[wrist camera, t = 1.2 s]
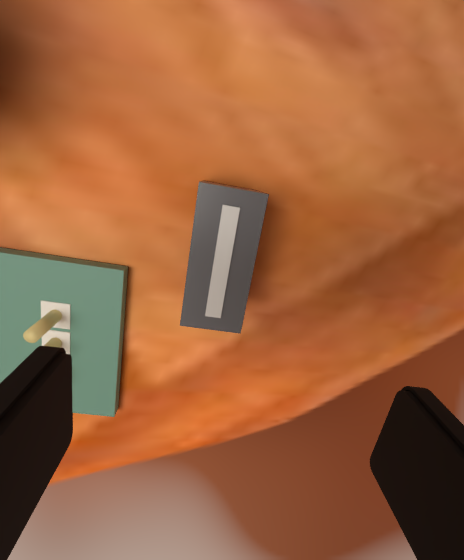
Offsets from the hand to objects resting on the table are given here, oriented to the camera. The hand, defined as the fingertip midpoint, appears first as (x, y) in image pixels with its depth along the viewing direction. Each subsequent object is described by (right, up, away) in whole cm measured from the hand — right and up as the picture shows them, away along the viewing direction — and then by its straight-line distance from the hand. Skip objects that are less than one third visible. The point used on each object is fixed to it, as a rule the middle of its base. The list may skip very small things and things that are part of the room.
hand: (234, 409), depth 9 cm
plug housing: (-1, +7, +16) cm, 17 cm away
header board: (-15, -1, +17) cm, 23 cm away
